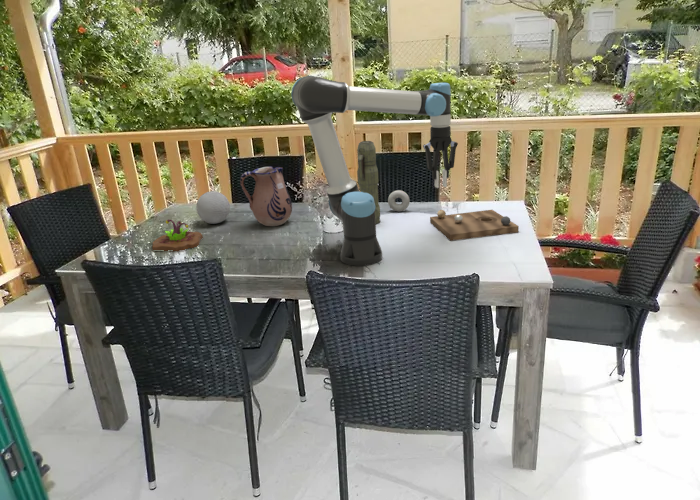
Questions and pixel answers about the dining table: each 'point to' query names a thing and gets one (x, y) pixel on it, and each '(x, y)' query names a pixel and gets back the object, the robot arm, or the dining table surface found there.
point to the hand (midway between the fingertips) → (440, 186)
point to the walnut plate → (473, 225)
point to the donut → (394, 205)
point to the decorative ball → (213, 207)
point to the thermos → (368, 173)
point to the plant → (177, 239)
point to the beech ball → (441, 213)
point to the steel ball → (458, 218)
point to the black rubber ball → (505, 220)
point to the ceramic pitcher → (269, 196)
